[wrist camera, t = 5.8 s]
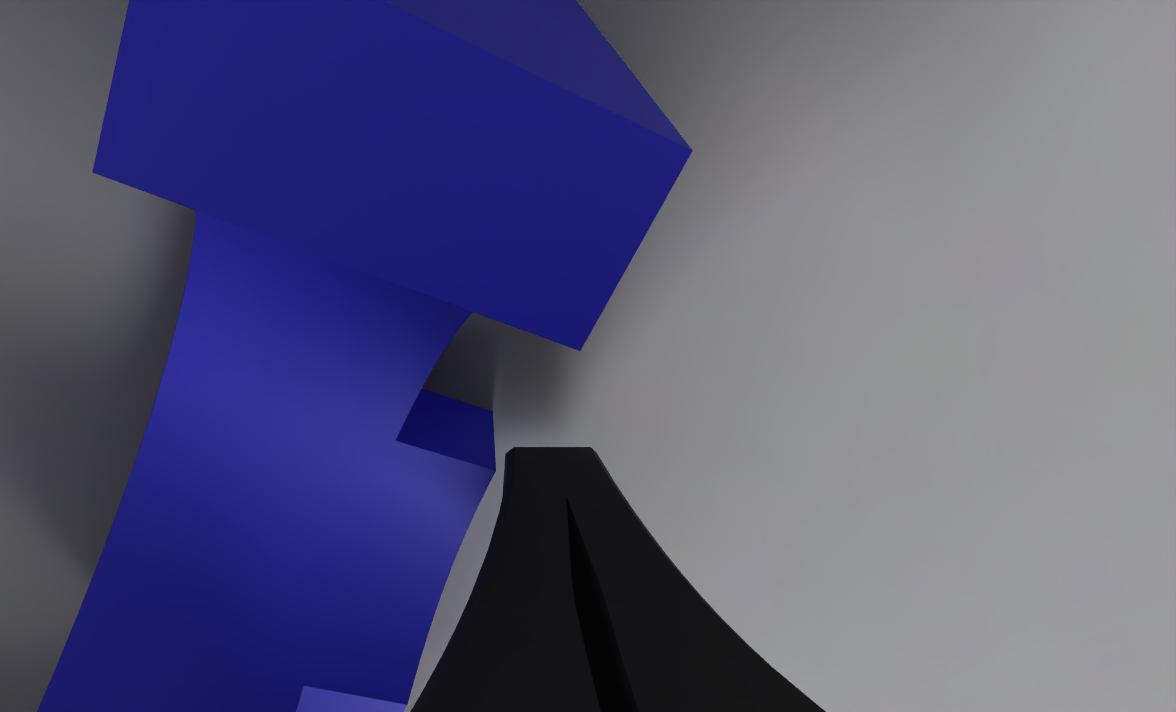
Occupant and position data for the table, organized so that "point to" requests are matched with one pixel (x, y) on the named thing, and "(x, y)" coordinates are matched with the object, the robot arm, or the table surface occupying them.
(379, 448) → the cable clip
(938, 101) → the table surface
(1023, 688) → the table surface
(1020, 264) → the table surface
